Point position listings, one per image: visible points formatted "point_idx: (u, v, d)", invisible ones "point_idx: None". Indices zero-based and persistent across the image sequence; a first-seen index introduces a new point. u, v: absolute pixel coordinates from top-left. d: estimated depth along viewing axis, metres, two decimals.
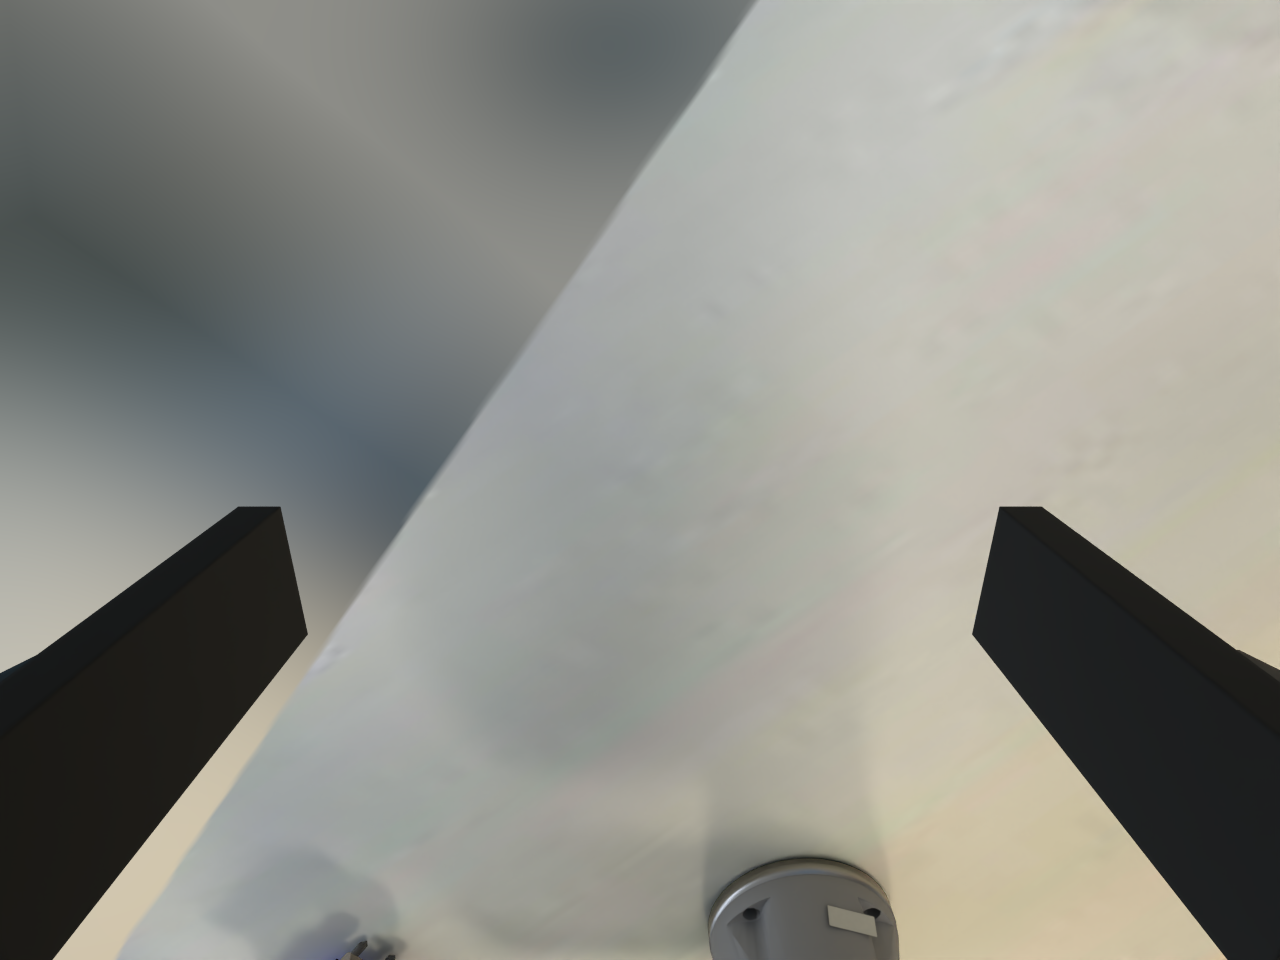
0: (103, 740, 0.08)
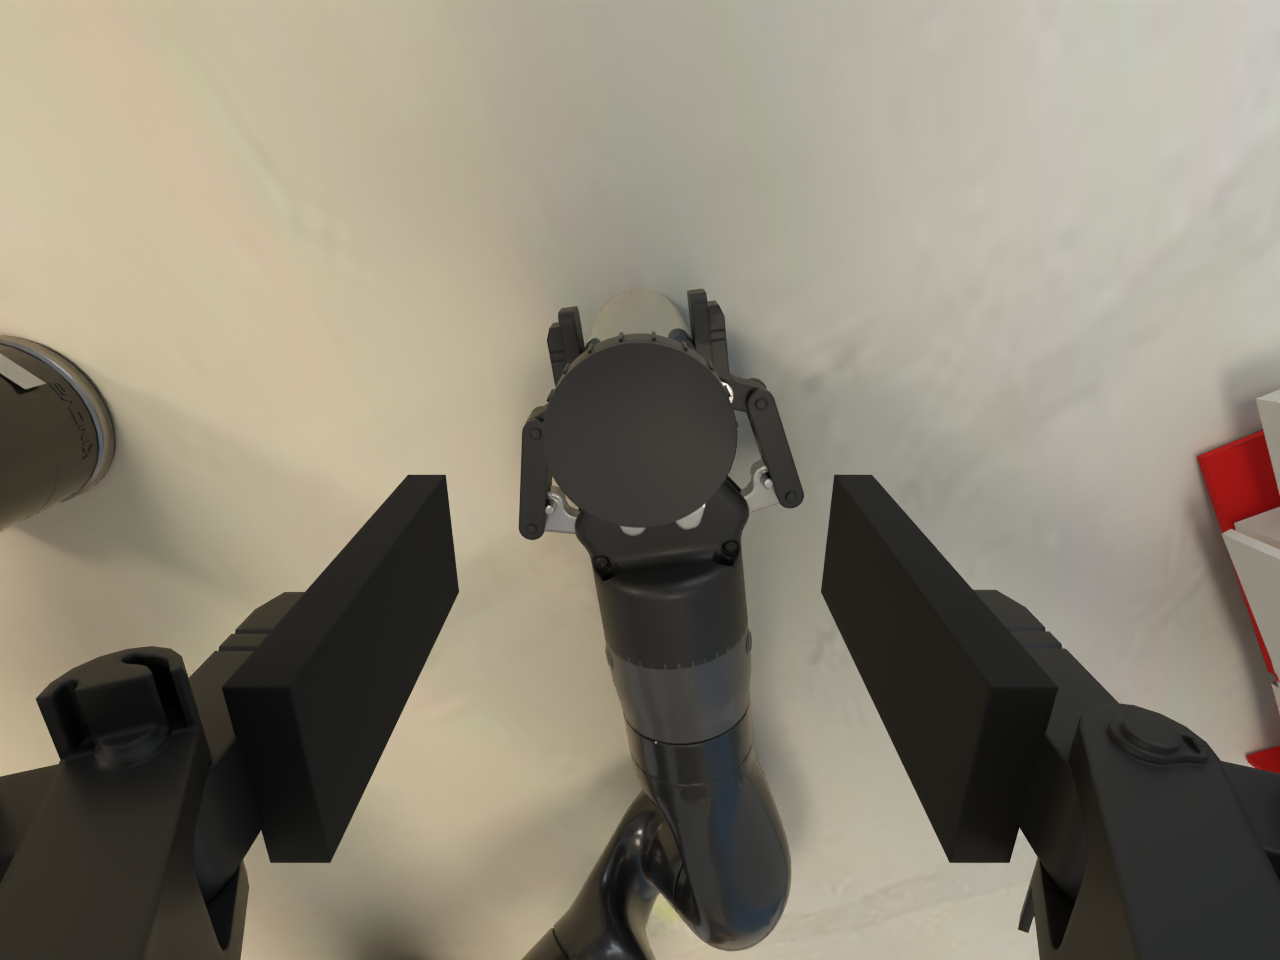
0: (364, 660, 0.10)
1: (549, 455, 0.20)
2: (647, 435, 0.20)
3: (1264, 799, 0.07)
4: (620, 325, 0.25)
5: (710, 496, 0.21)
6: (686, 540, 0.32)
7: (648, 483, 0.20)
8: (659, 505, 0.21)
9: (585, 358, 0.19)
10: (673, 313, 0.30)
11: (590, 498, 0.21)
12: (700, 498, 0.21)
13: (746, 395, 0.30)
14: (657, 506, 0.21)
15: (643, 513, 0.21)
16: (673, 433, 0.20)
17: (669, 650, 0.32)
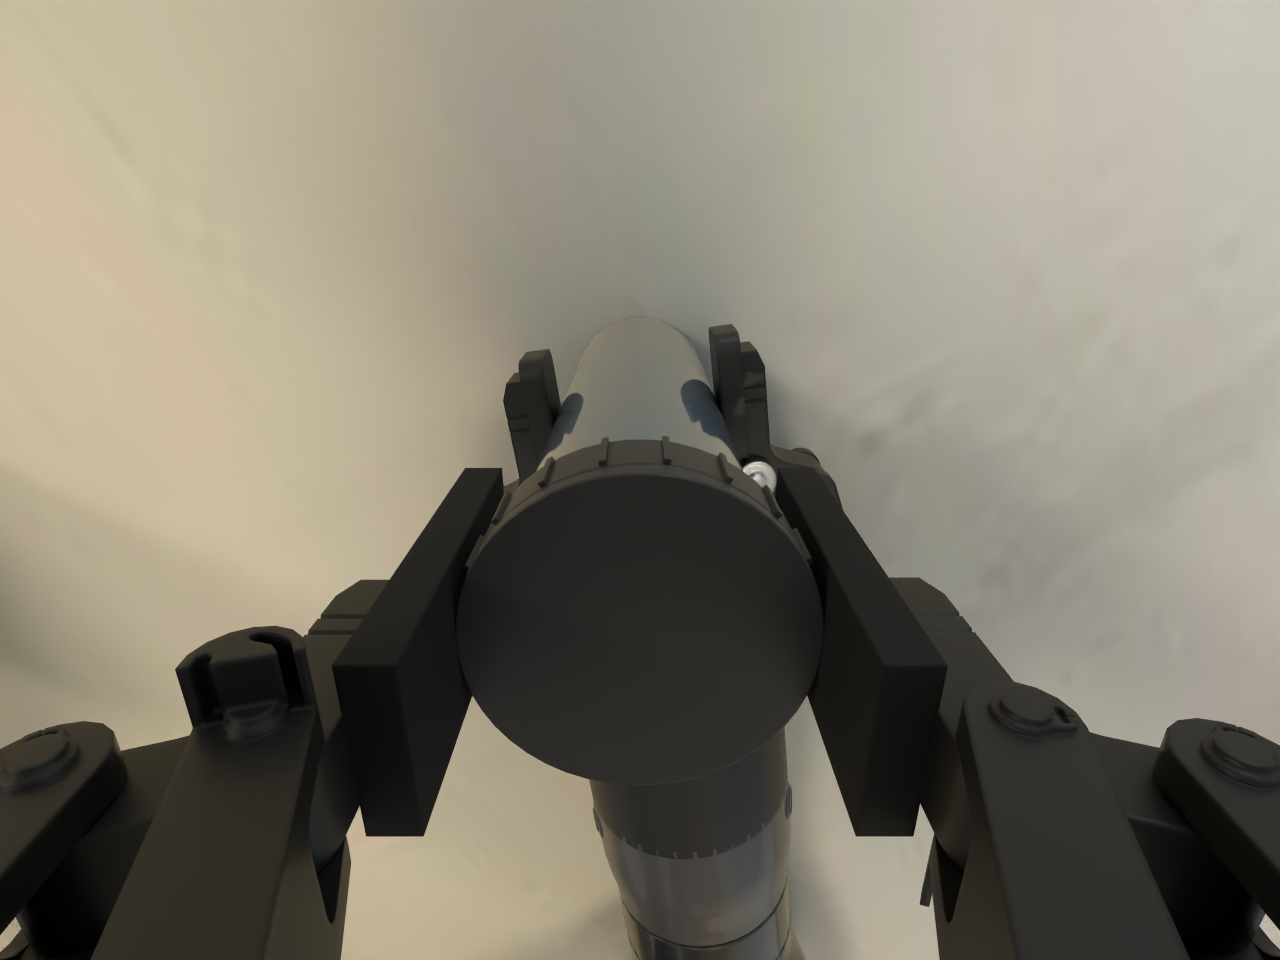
0: (446, 643, 0.10)
1: (469, 670, 0.11)
2: (654, 637, 0.10)
3: (1133, 770, 0.07)
4: (608, 395, 0.15)
5: (769, 737, 0.11)
6: None
7: (655, 716, 0.11)
8: (675, 750, 0.11)
9: (532, 501, 0.10)
10: (688, 359, 0.21)
11: (548, 739, 0.11)
12: (751, 739, 0.11)
13: None
14: (672, 752, 0.11)
15: (646, 763, 0.11)
16: (703, 634, 0.10)
17: (681, 835, 0.22)
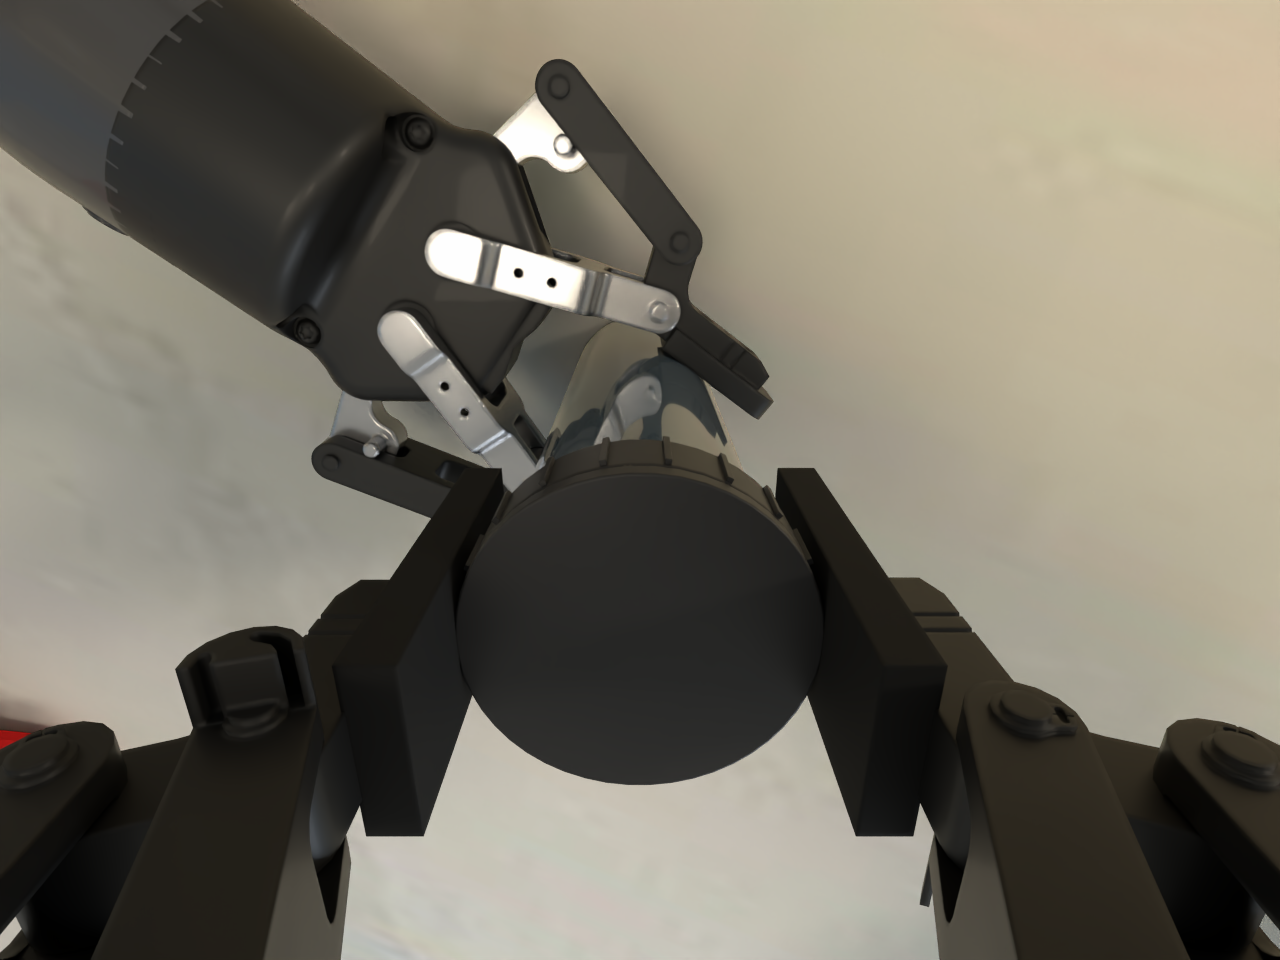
0: (446, 644, 0.10)
1: (469, 669, 0.11)
2: (654, 637, 0.10)
3: (1134, 770, 0.07)
4: None
5: (769, 737, 0.11)
6: (362, 289, 0.19)
7: (655, 716, 0.11)
8: (675, 751, 0.11)
9: (533, 501, 0.10)
10: None
11: (548, 739, 0.11)
12: (750, 739, 0.11)
13: None
14: (671, 752, 0.11)
15: (645, 763, 0.11)
16: (703, 634, 0.10)
17: (173, 126, 0.15)
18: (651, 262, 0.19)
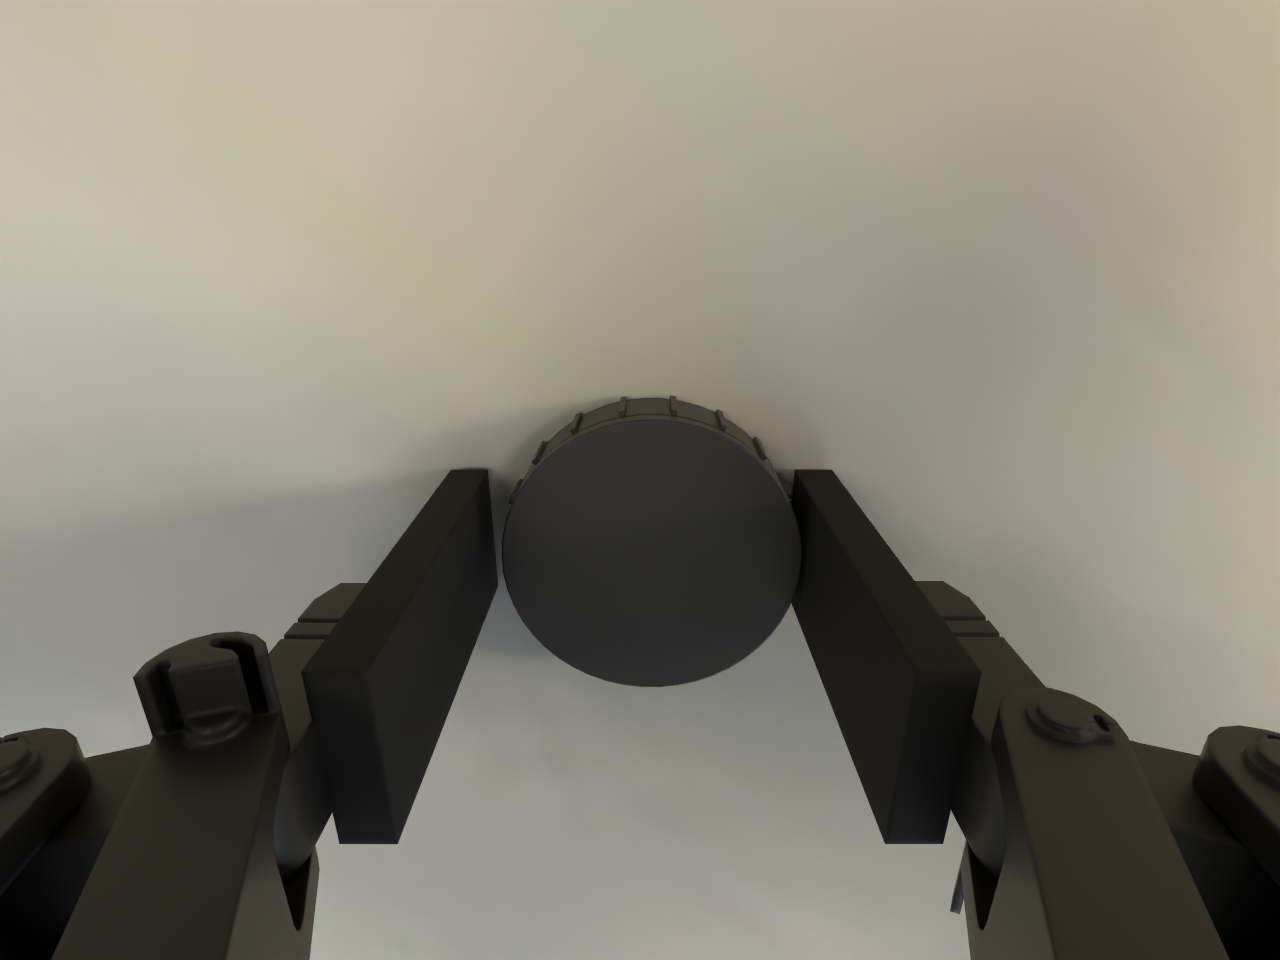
0: (423, 648, 0.10)
1: (513, 585, 0.13)
2: (662, 557, 0.13)
3: (1173, 778, 0.07)
4: None
5: (758, 644, 0.14)
6: None
7: (664, 626, 0.13)
8: (680, 656, 0.14)
9: (566, 443, 0.12)
10: None
11: (576, 646, 0.14)
12: (742, 647, 0.14)
13: None
14: (677, 658, 0.14)
15: (656, 667, 0.14)
16: (703, 555, 0.13)
17: None
18: None
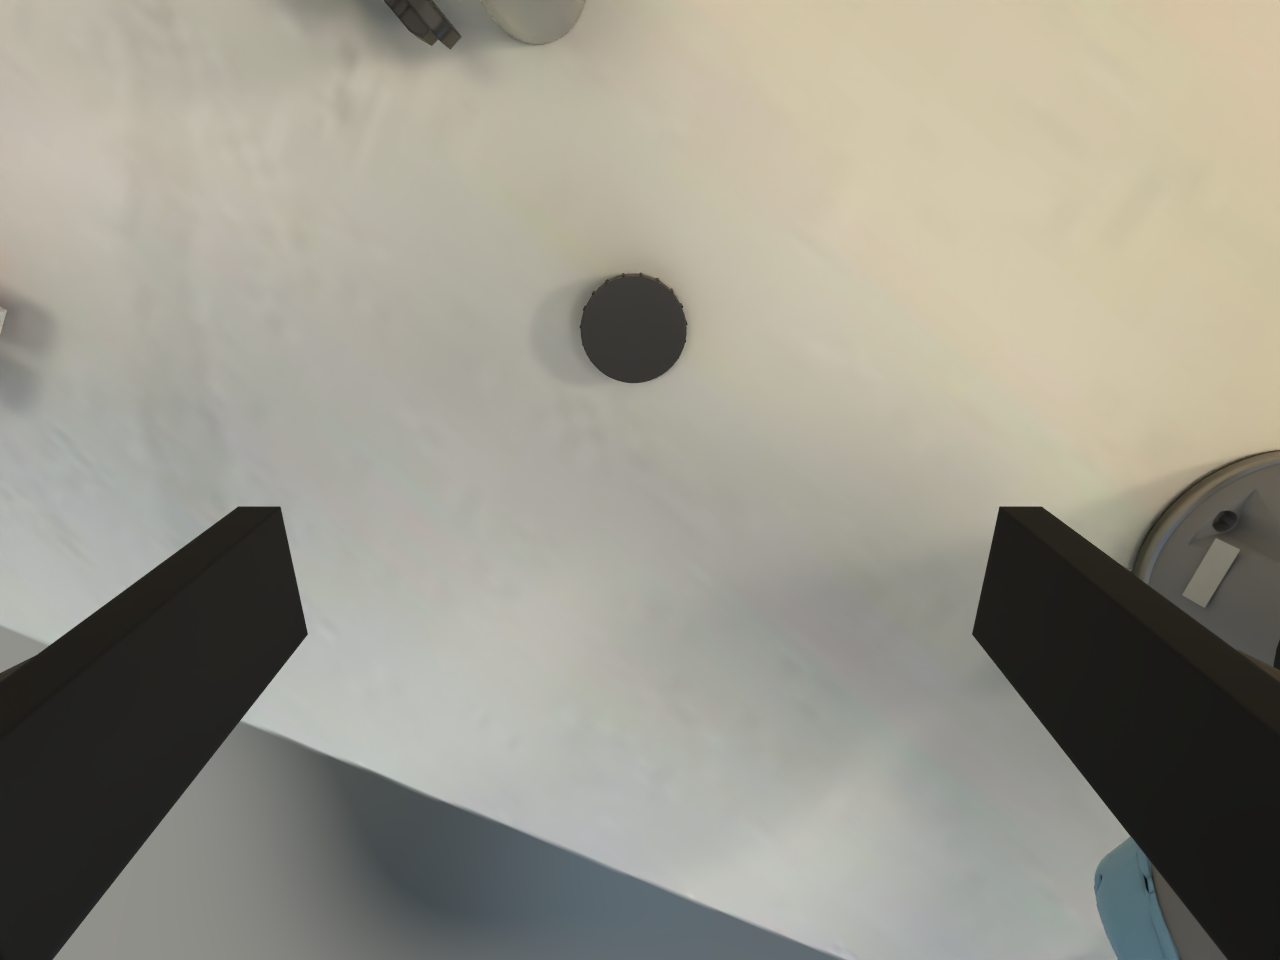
0: (103, 740, 0.08)
1: (584, 340, 0.37)
2: (637, 328, 0.37)
3: None
4: None
5: (672, 363, 0.37)
6: None
7: (638, 356, 0.37)
8: (644, 369, 0.37)
9: (604, 285, 0.36)
10: (515, 15, 0.28)
11: (606, 365, 0.37)
12: (667, 365, 0.37)
13: None
14: (643, 370, 0.37)
15: (635, 374, 0.38)
16: (651, 327, 0.37)
17: None
18: None
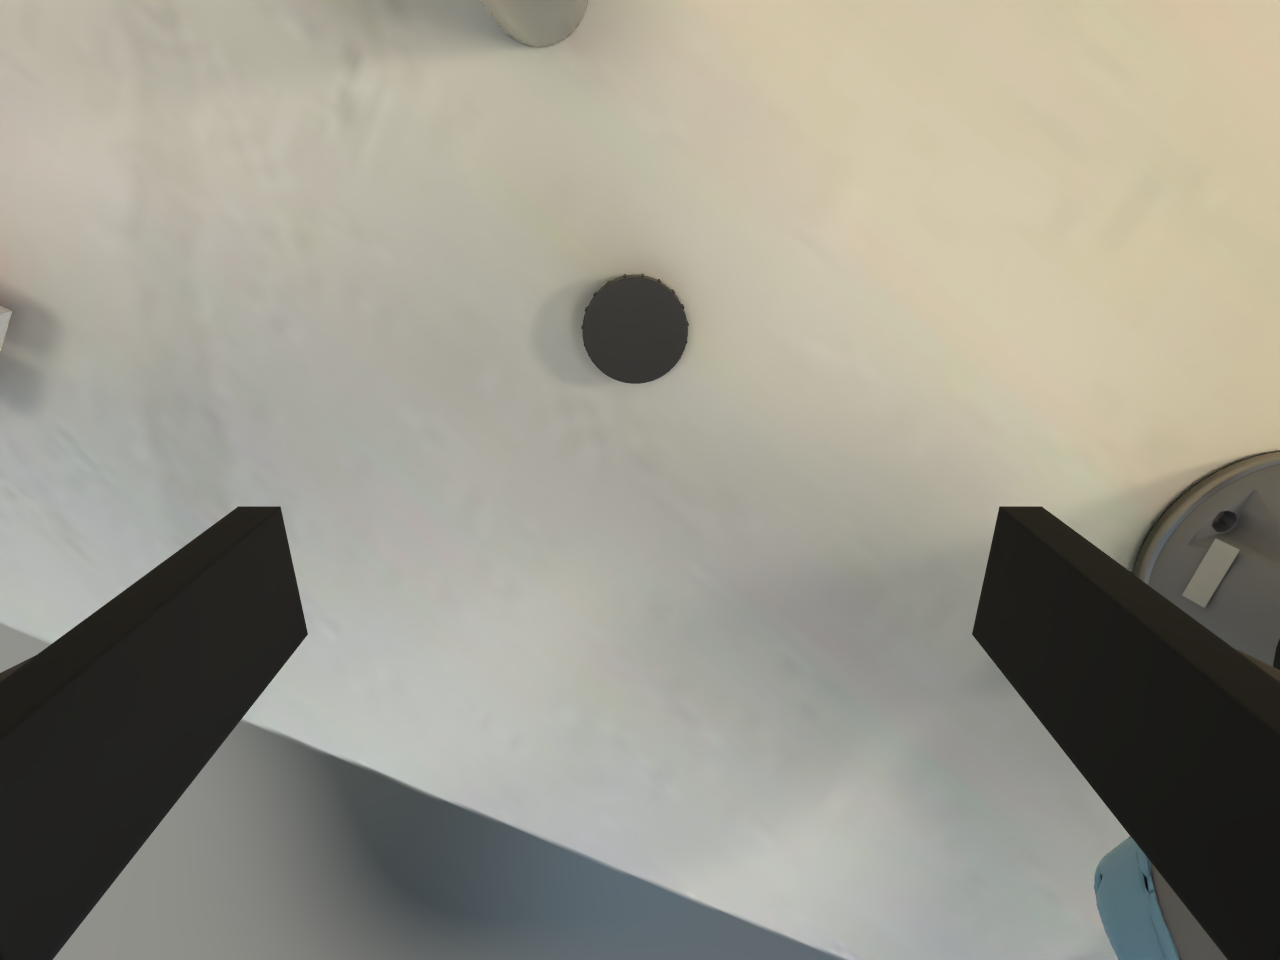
0: (103, 740, 0.08)
1: (586, 340, 0.37)
2: (639, 329, 0.37)
3: None
4: None
5: (673, 364, 0.37)
6: None
7: (639, 357, 0.37)
8: (646, 370, 0.38)
9: (606, 286, 0.36)
10: (517, 18, 0.28)
11: (608, 366, 0.38)
12: (668, 365, 0.38)
13: None
14: (645, 370, 0.38)
15: (637, 374, 0.38)
16: (653, 328, 0.37)
17: None
18: None
